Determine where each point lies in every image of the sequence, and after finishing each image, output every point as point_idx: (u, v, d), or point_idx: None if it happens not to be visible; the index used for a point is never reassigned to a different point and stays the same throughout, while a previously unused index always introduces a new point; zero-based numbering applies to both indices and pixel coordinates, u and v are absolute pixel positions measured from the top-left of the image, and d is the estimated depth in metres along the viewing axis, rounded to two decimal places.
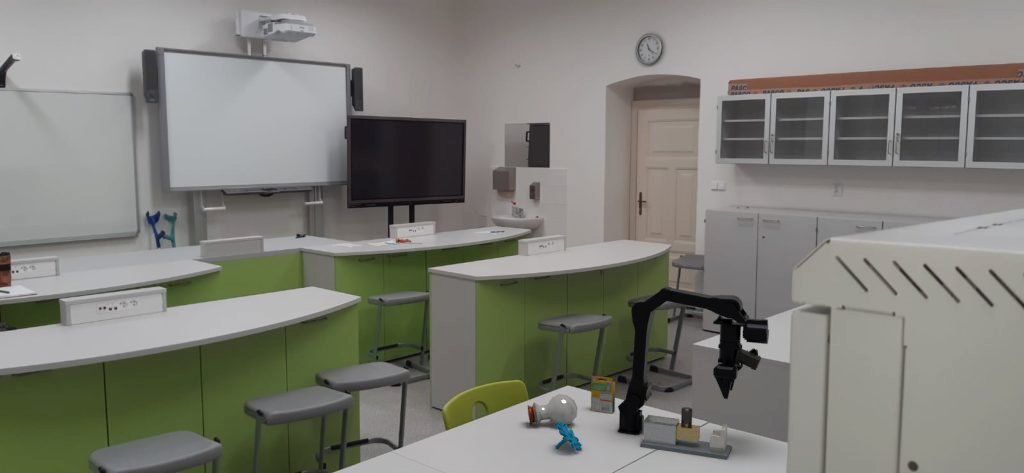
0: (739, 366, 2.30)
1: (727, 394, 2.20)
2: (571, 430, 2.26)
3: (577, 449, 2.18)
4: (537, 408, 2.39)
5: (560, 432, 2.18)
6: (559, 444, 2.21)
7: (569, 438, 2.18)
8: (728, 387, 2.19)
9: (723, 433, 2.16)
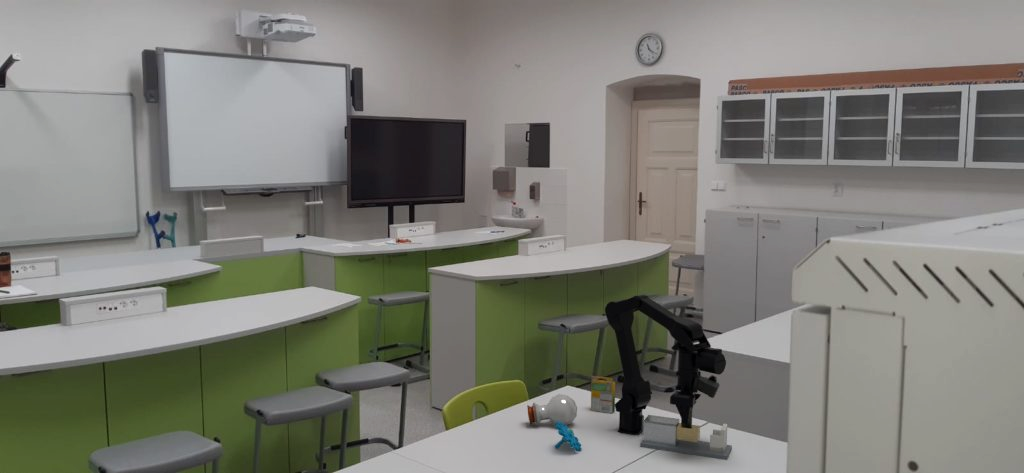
0: (697, 395, 2.24)
1: (686, 419, 2.20)
2: (571, 430, 2.26)
3: (576, 449, 2.18)
4: (537, 408, 2.39)
5: (559, 432, 2.18)
6: (558, 444, 2.21)
7: (568, 438, 2.18)
8: (687, 412, 2.19)
9: (723, 433, 2.16)
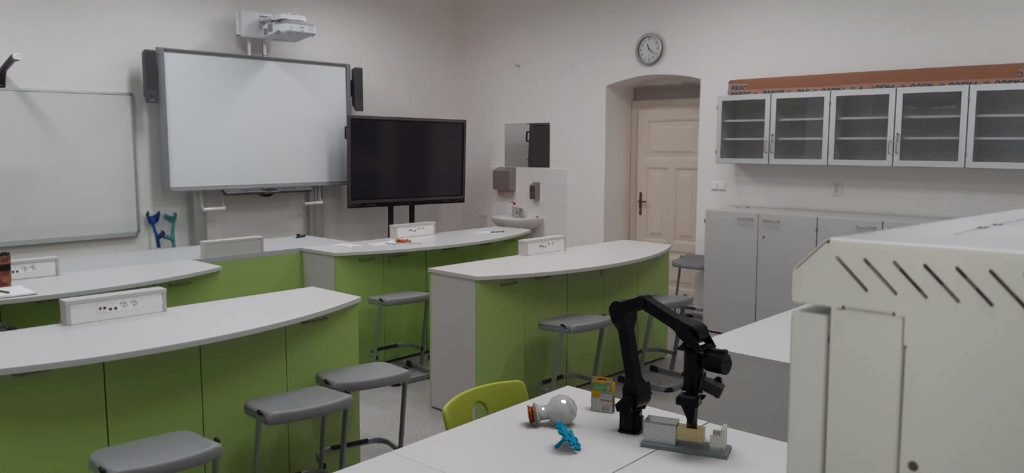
0: (702, 396, 2.24)
1: (692, 420, 2.20)
2: (571, 430, 2.26)
3: (576, 449, 2.18)
4: (537, 408, 2.39)
5: (559, 432, 2.18)
6: (558, 444, 2.22)
7: (568, 438, 2.18)
8: (693, 413, 2.19)
9: (723, 433, 2.16)
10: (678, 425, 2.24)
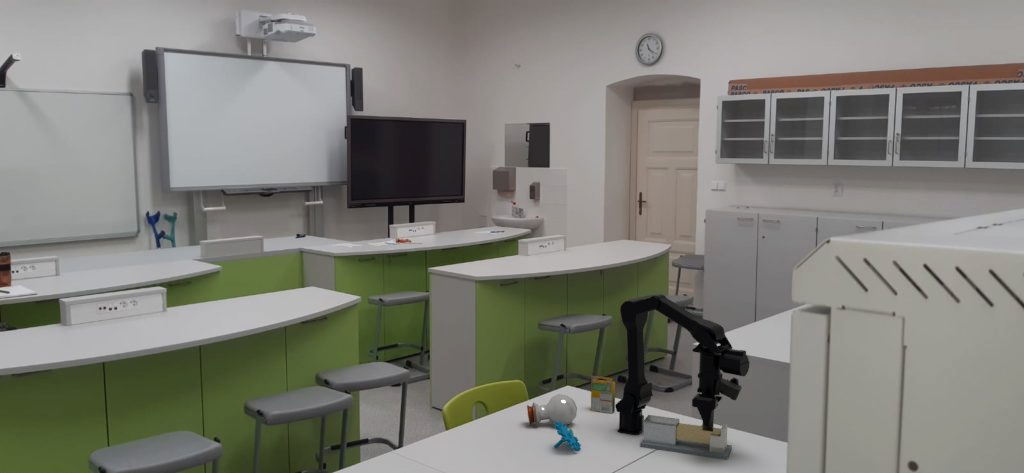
0: (718, 398, 2.22)
1: (708, 422, 2.18)
2: (570, 430, 2.26)
3: (575, 449, 2.18)
4: (537, 408, 2.39)
5: (558, 432, 2.18)
6: (558, 444, 2.22)
7: (567, 438, 2.19)
8: (709, 415, 2.17)
9: (723, 433, 2.16)
10: (694, 427, 2.22)
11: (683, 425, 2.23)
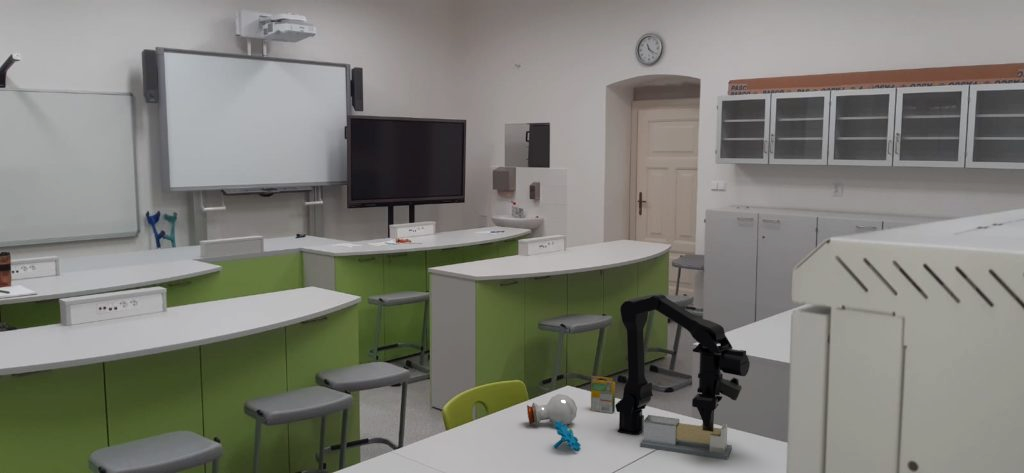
0: (718, 398, 2.22)
1: (708, 422, 2.18)
2: (570, 430, 2.26)
3: (575, 449, 2.18)
4: (536, 408, 2.39)
5: (558, 432, 2.18)
6: (557, 444, 2.22)
7: (567, 438, 2.19)
8: (709, 415, 2.17)
9: (723, 433, 2.16)
10: (694, 427, 2.22)
11: (683, 425, 2.23)
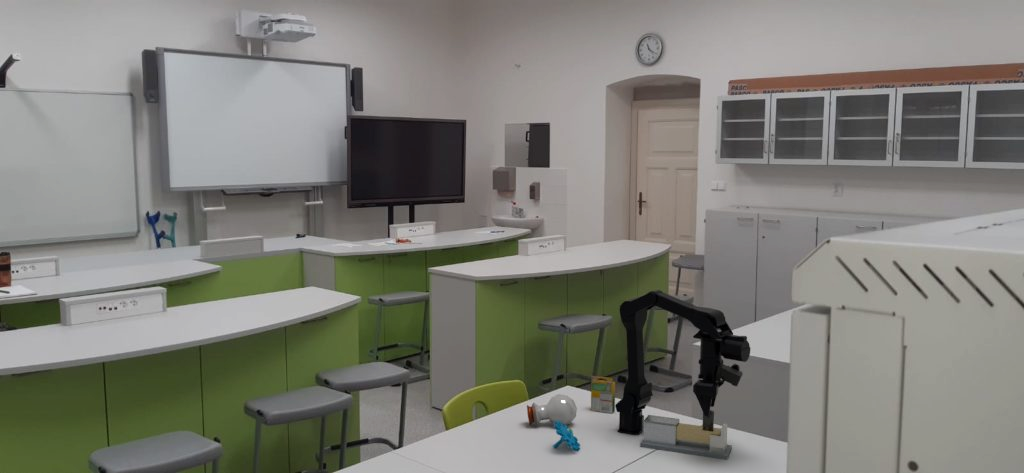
0: (721, 382, 2.24)
1: (708, 411, 2.15)
2: (570, 430, 2.26)
3: (574, 449, 2.18)
4: (536, 408, 2.39)
5: (557, 431, 2.18)
6: (557, 443, 2.22)
7: (566, 438, 2.19)
8: (708, 404, 2.14)
9: (723, 433, 2.16)
10: (694, 427, 2.22)
11: (683, 425, 2.23)
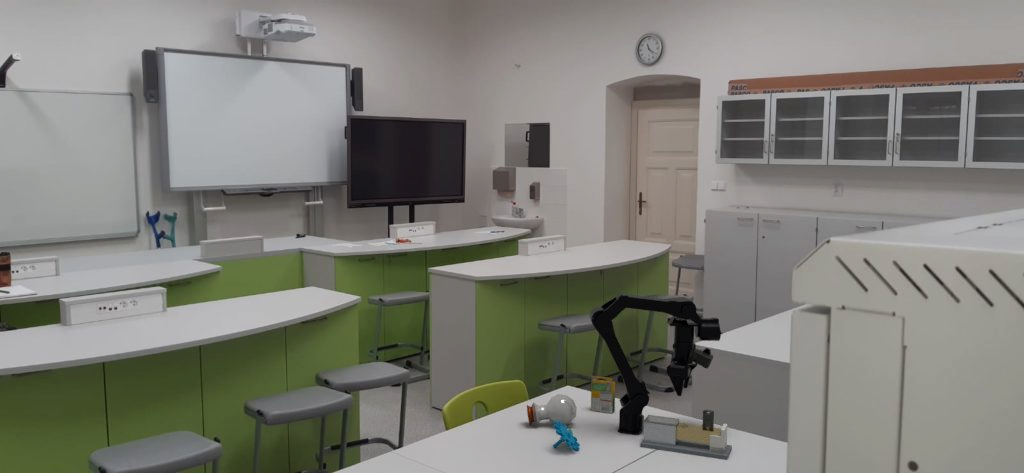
0: (694, 365, 2.41)
1: (680, 391, 2.32)
2: (570, 430, 2.26)
3: (574, 449, 2.18)
4: (536, 408, 2.39)
5: (557, 431, 2.18)
6: (557, 443, 2.22)
7: (566, 438, 2.19)
8: (681, 385, 2.31)
9: (723, 433, 2.16)
10: (694, 427, 2.22)
11: (683, 425, 2.23)
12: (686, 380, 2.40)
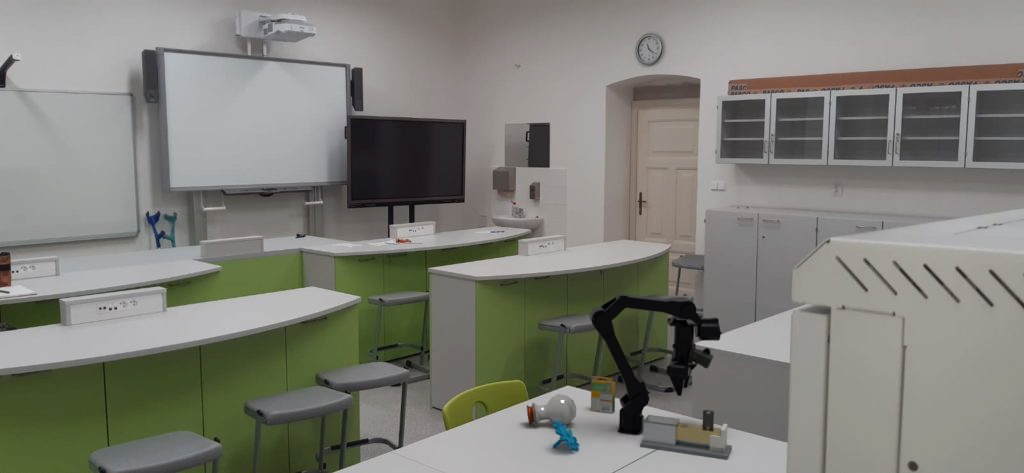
0: (693, 365, 2.41)
1: (680, 391, 2.32)
2: (570, 430, 2.26)
3: (573, 449, 2.18)
4: (536, 408, 2.39)
5: (556, 431, 2.18)
6: (556, 443, 2.22)
7: (565, 438, 2.19)
8: (681, 385, 2.31)
9: (723, 433, 2.16)
10: (694, 427, 2.22)
11: (683, 425, 2.23)
12: (686, 380, 2.41)
